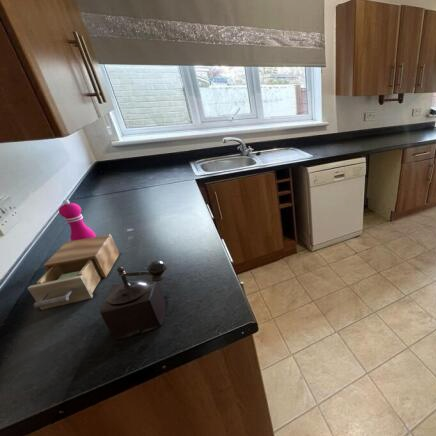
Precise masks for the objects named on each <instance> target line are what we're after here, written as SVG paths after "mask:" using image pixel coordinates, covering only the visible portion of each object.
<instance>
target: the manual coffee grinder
mask: <svg viewBox="0 0 436 436" xmlns="http://www.w3.org/2000/svg"><path fill="white" fill-rule="evenodd" d="M124 269H125V268H124V267H123V266H118V267H117V268H116V271H117V273H118V274H117V275H118V277H120V278H121V280H122V282H120V283H117V284H112V285H111V286H110V288H109V290H108V292H107V294H106V296H105V298H104V300H103V302H102V304H101V306H100V309H99V315H100V316H101V318H102V319H103V322H104V323H105V325H106V327H107V329H108V331H109V332H110V333H111V334H110V335H111V336H112V338H113V340H114V341H118V340H122V339H125V338H130V337H134V336H137V335H141V334H143V333H146V332H150V331H153V330H155V329H158V328H159V327H162V325H163V321H164V319H165V315H166V314H165V313H166V307H167V306H166V299H165V297H164V295H163V292H162V289H161V286H160V283H159V282H161V281H163V280H164V278H165V275H164V272H165V271H166V270H167V265H166V263H165V262H164V261H162V260H153V261H151V262H149V264H148V266H147V269H146V271H125V270H124ZM136 276H146V277H143V278H139V279H133V280H130V281H129V280H128V279H127V277H136Z"/></svg>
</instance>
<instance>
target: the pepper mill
mask: <svg viewBox="0 0 436 436" xmlns="http://www.w3.org/2000/svg"><path fill="white" fill-rule="evenodd" d="M58 213H59V215H60V216H61V217H62V218H63V217H64V221H65V222H66V223H67V224H68V225H69V227H70V241H74V240H80V239H86V238H92V237H97V236H96V233H95V232H94V231H93V229H91V228H90V227H88V226H87V225H86V224H85V222H84V220H83V218H84V216H83V214H82V208H81V206H80V205H79V204H77V203H73V202H70V200H68V199H64V200H62V205H61V206H59V208H58Z"/></svg>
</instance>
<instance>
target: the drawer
mask: <svg viewBox="0 0 436 436" xmlns="http://www.w3.org/2000/svg"><path fill="white" fill-rule="evenodd" d="M77 271H80V272H79V274H78V275H79V276H75V277H70V278H65V279H60V280H58V279H59V278H60V276H61V275H62V274H67V273H72V272H77ZM102 278H103V277H102V275H101V273H100V270H99V268H98V266H97V264H96V262H95V260H94V258H92V259H86V260H81V261H76V262H71V263H65V264H60V265H55V266H52V267H51V268H50V269H49V270H48V271H45V273H44V274H43V275H42V276H41V277H40V278H39V279H38V280H37V281H36V284H32V285H29V286H28V287H27V290H28V292H29V294H31V296H32V297H33V299H34V300H35V302H34V303H33V307H34V309H35V308H36V309H38V308H39V309H40V310H46V309H51V308H54V307H59V306H64V305H67V304H68V305H69V304H72V303H73V304H74V303H77V302H82V301H86V300H90V299H93V297H94V294H93V293H94V291H95V290H96V287H98V285H99V284H100V281H101V280H102Z"/></svg>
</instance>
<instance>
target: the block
mask: <svg viewBox="0 0 436 436" xmlns="http://www.w3.org/2000/svg"><path fill="white" fill-rule="evenodd" d="M79 272H80V271H77V272H72V273H67V274H62V275H61V276H60V278H59V279H58V280H60V279H65V278H70V277H75V276H79V275H78V274H79Z"/></svg>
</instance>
